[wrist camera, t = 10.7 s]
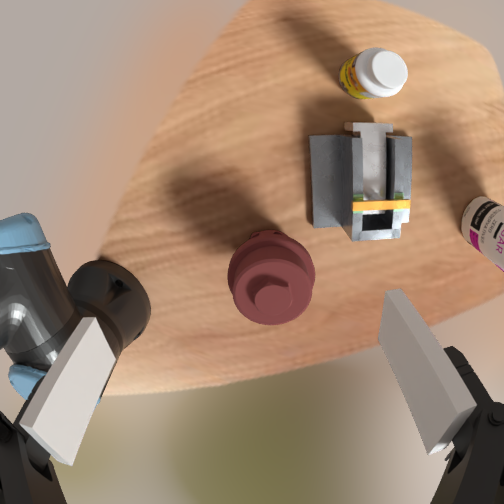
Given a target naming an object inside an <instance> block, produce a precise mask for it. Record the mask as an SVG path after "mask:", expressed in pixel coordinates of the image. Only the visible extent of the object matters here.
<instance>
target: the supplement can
mask: <svg viewBox="0 0 504 504" xmlns="http://www.w3.org/2000/svg"><path fill="white" fill-rule="evenodd" d="M461 230H462V234H463V237H464V238H465V240H466V241H467V242H468V243H469V244H471V245H472V246H473V247H475V248H476V249H477V250H478V251H480V252H481V253H482V254H483V255H484V256H486V257H487V258H488V259H489V260H490V261H492V262H493V263H494V264H495V265H496V266H498V267H499V268H500V269H501V270H502V271H503V272H504V206H502V205H500V204H499V203H497V202H495V201H493V200H491V199H489V198H487V197H481V196H479V197H477V198H475V199H473V200H472V202H471V203H470V204H469V205H468V206H467V208H466V209H465V211H464V214H463V217H462V227H461Z"/></svg>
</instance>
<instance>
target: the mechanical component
mask: <svg viewBox="0 0 504 504" xmlns="http://www.w3.org/2000/svg"><path fill="white" fill-rule="evenodd" d="M314 282H315V269H314V265H313V262H312V259H311V257H310V255H309V253H308V251H307V250H306V249H305V248H304V247H303V246H302V245H301V244H300V243H299V242H297V241H296V240H294V239H292V238H290V237H288V236H287V235H286V234H284V233H282V232H280V231H276V230H264V231H261V232H254V233H252V235H251V238H250V239H249V240H248V241H246V242H245V243H244V244H242V245H241V246H240V247H239V248H238V249H237V250H236V252H235V253H234V254H233V256H232V258H231V261H230V264H229V269H228V285H229V288H230V291H231V293H232V294H233V299H234V303H235V305H236V307H237V309H238V310H239V311H240V312H241V313H242V314H243V315H244V316H245V317H246V318H248V319H249V320H251V321H253V322H256V323H259V324H264V325H279V324H284V323H287V322H289V321H292V320H294V319H295V318H297V317H298V316H299V315H301V314H302V313H303V312H304V311H305V309H306V308H307V306H308V305H309V303H310V300H311V296H312V288H313V286H314Z"/></svg>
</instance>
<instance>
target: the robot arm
mask: <svg viewBox="0 0 504 504" xmlns="http://www.w3.org/2000/svg"><path fill="white" fill-rule="evenodd" d="M50 247H51V246H50V243H48V242H47V240H46V238H45V236H44V233H43V231H42V229H41V226H40V224H39V222H38V220H37V218H36V217H35V216H34V215H32V214H29V213H21V214H18V215H14V216H11V217H8V218H6V219H3V220H0V349H2V348H4V349H5V351H6V352H7V354H8V355H9V356H10V358H11V359H12V361H13V363H14V364H13V365H12V366H11V367H10V371H9V374H8V377H9V380H10V383H11V384H12V386H13V387H14V389H15V390H16V391H17V392H18V393H19V394H20V395H21V396H22V397H23V398H24V399H25V400H26V402H25V403H24V405H23V407H22V409H21V410H20V412H19V414H18V416H17V418H16V420H15V422H14V423H13V424H12V423H11V422H10V421H9V420H8V419H7V418H6V416H5V415H4V414H3V413H2V412H1V411H0V504H67V503H66V500H65V497H64V495H63V492H62V490H61V487H60V485H59V481H58V479H57V476H56V473H55V470H54V466H53V464H52V462H51V461H50V460H49V458H50V455H52V456H53V457H54V458H55V459H56V460H57V461H59V462H61V463H64V464H67V465H70V466H72V465H73V462H74V460H75V457H76V454H77V451H78V449H79V446H80V443H81V441H82V438H83V436H84V433H85V430H86V428H87V425H88V423H89V420H90V418H91V416H92V413H93V411H94V409H95V408H96V406H97V404H99V402H100V399H101V397H102V395H103V392H104V390H105V388H106V385H107V383H108V381H109V378H110V376H111V374H112V372H113V369H114V367H115V365H116V363H117V360H118V358H119V356H120V354H121V352H122V350H123V349H125V348H126V347H127V346H128V345H129V344H131V343H132V341H134V340H135V339H137V338H138V337H139V336H140V335H141V334H142V333H143V331H144V330H145V328H146V326H147V324H148V322H149V319H150V315H151V306H150V301H149V298H148V296H147V293H146V291H145V290H144V288H143V286H142V285H141V284H140V282H139V281H138V280H137V279H136V278H135V277H134V276H133V275H132V274H131V273H130V272H128V271H127V270H125V269H124V268H122V267H121V266H119V265H117V264H114V263H111V262H108V261H102V260H95V261H90V262H87V263H85V264H84V265H82V266H81V267H80V268H79V269H78V270H77V271H76V272H75V273H74V274H73V275H72V277H71V278H70V281H69V283H68V287H67V286H66V284H65V282H64V280H63V278H62V275H61V273H60V271H59V269H58V266H57V264H56V262H55V259H54V257H53V255H52V252H51V250H50ZM378 340H379V342H380V344H381V346H382V348H383V350H384V353H385V355H386V357H387V359H388V361H389V363H390V365H391V368H392V370H393V372H394V374H395V376H396V379H397V381H398V383H399V385H400V388H401V390H402V392H403V395H404V397H405V399H406V401H407V404H408V406H409V409H410V411H411V413H412V416H413V418H414V421H415V423H416V426H417V428H418V431H419V433H420V436H421V438H422V441H423V443H424V446H425V449H426V451H427V454H428V455H430V454H432V453H435V452H438V451H440V450H443V449H445V448H446V447H447V446H448V445H449V443H450V442H451V441H452V442H453V444H454V446H455V447H454V448H453V449H452V451H451V452H450V453H449V454H448V455H447V457H446V458H445V461H447V460H448V459H449V461H448V464H447V466H446V469H445V472H444V474H443V476H442V479H441V481H440V484H439V486H438V488H437V491H436V493H435V495H434V497H433V499H432V501H431V503H430V504H504V404H502V403H500V402H494V401H493V400H492V399H491V397H490V396H489V394H488V392H487V391H486V389H485V388H484V386H483V384H482V383H481V381H480V379H479V378H478V376H477V375H476V373H475V372H474V370H473V369H472V367H471V366H470V365H469V363H468V361H467V360H466V358H465V357H464V355H463V354H462V353H461V352H460V351H458V350H457V349H456V348H455V347H453V346H450V347H447V348H444V349H443V348H442V346H441V345H440V343H439V342H438V340H437V339H436V338H435V336H434V335H433V333H432V332H431V330H430V329H429V327H428V326H427V324H426V323H425V321H424V320H423V318H422V317H421V316H420V314H419V313H418V311H417V310H416V309H415V307H414V306H413V304H412V303H411V302H410V300H409V299H408V298H407V296H406V295H405V293H404V292H403V291H402V289H395V290H388V291H385V298H384V305H383V312H382V318H381V324H380V330H379V336H378Z"/></svg>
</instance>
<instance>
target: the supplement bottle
mask: <svg viewBox="0 0 504 504" xmlns="http://www.w3.org/2000/svg"><path fill="white" fill-rule="evenodd" d="M407 76H408V71H407V67H406V64H405V62H404V61H403V59H402V58H401V57H400V56H399V55H397V54H396V53H394V52H392V51H388V50H385V49H382V48H369V49H367V50H365V51H363V52H361V53H359V54H357V55H356V56H354V57H352V58H350V59H349V60H347V61H346V62H344V63H343V65H342V66H341V68H340V70H339V82H340V84H341V86H342V88H343V89H344V91H345V92H346V93H347V94H349V95H350V96H352V97H354V98H357V99H371V98H381V97H389V96H392V95H394V94H396V93H397V92H399V91H400V89H401V88H402V86H403V84H404V83H405V82H406V79H407Z"/></svg>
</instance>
